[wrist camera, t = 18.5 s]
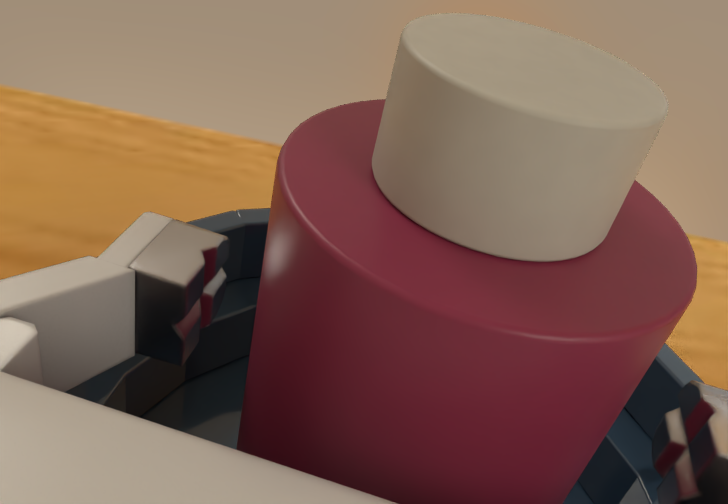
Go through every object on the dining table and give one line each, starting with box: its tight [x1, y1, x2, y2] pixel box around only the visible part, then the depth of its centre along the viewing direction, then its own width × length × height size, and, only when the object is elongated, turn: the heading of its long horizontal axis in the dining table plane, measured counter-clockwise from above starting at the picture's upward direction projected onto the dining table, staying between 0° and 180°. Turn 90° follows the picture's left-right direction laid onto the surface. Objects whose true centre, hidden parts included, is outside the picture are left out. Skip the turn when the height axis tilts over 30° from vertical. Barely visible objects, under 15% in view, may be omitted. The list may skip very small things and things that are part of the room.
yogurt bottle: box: [236, 13, 697, 504], centre depth 11 cm, size 6×6×11 cm
